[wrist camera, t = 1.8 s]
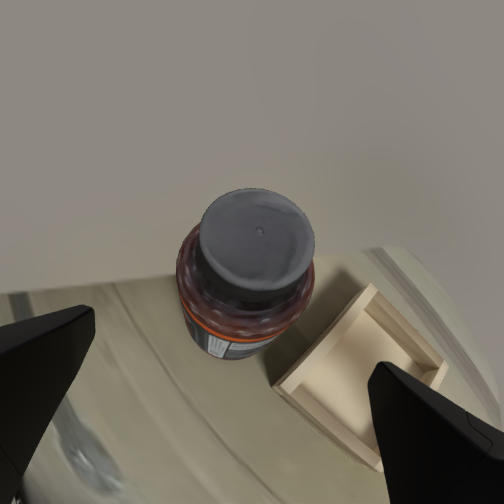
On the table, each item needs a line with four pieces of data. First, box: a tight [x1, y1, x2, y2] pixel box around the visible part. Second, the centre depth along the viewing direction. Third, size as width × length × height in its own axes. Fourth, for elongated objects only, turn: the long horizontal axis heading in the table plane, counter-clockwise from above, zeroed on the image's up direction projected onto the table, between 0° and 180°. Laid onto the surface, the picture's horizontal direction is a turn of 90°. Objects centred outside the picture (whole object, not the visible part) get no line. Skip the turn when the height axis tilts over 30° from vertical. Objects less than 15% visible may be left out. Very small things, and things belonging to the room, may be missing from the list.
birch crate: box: [271, 283, 449, 473], centre depth 18 cm, size 10×10×2 cm
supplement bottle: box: [176, 188, 315, 360], centre depth 15 cm, size 6×6×11 cm
